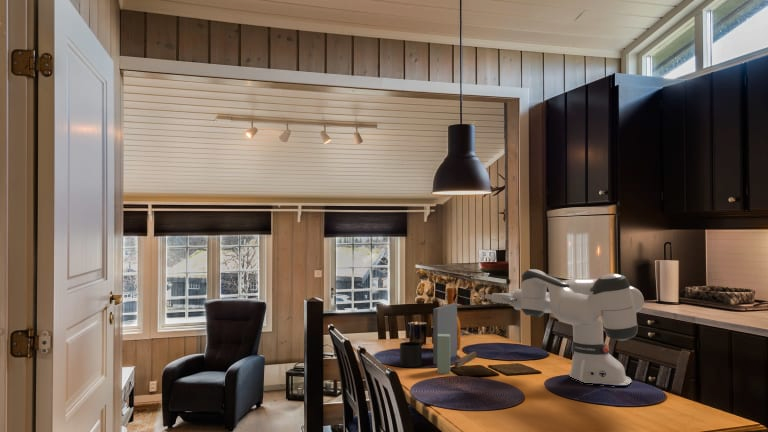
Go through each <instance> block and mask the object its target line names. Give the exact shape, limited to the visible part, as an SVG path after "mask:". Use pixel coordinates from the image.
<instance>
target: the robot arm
mask: <svg viewBox="0 0 768 432" xmlns="http://www.w3.org/2000/svg"><path fill="white" fill-rule="evenodd" d="M547 290H548V291H547ZM484 299H486V300H487V299H488V300H491V302H492V303H498V304H510V306H511V307H513V309H514V310H517V311H522V313H524V315H526V316H535V317H539V318H540V317H543V315H544V314H552V315H553V316H554V317H555V318H556V319H557V320H558V321H560V322H563V323H565V324H569V325H572V334H573V335H572V336H573V337H572V338H573V339H572V341H571V353H572V362H571V363H572V364H571V368H570V372H569V376H570V377H572V378H574V379H577V380H579V381H581V382H584V383H602V384H613V385H628V384H630V383H631V382H632V381H633V380H632V379H631V377H629V376H627V375H626V371H625V367H624V365H623V364H622V362H620V361H619V360H618V359H617V358H615V357H614V356H613V355H611V354H610V345H609V344H607V343H605V342H604V332H605V334H606V336H607V337H608V338H610V339H612V340H615V341H627V340H630V339H633V338H634V337H636V335H637V334H638V331H639V323H638V321H637V313H638V312H640V311H641V310H642V309H643V306H644V303H645V298H644V296H643V293H642V292H641V291H640V289H638V288H636V287H634V286H632V285H630V282H629V280H628V278H627V277H626V276H625V275H623V274H619V273H608V274H604V275H603V276H600V277H599V278H570V279H565V280H562V279H560V278H557V277H556V276H553V275H551V274H548V273H546V272H544V271H542V270H540V269H536V268H534V269H531V268H530V269H527V270H525V271H524V272H523V274H521V288H516V289H515V290H512V291H511V292H499V293H498V292H493V293H492V294H487V293H485V294H484ZM600 317H601V318H600ZM599 318H600V319H601V320H600V319H599ZM570 377H569V378H570ZM572 378H571V379H572ZM574 379H573V380H574ZM577 380H576V381H577ZM579 381H578V382H579ZM581 382H580V383H581ZM632 383H633V382H632Z"/></svg>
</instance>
